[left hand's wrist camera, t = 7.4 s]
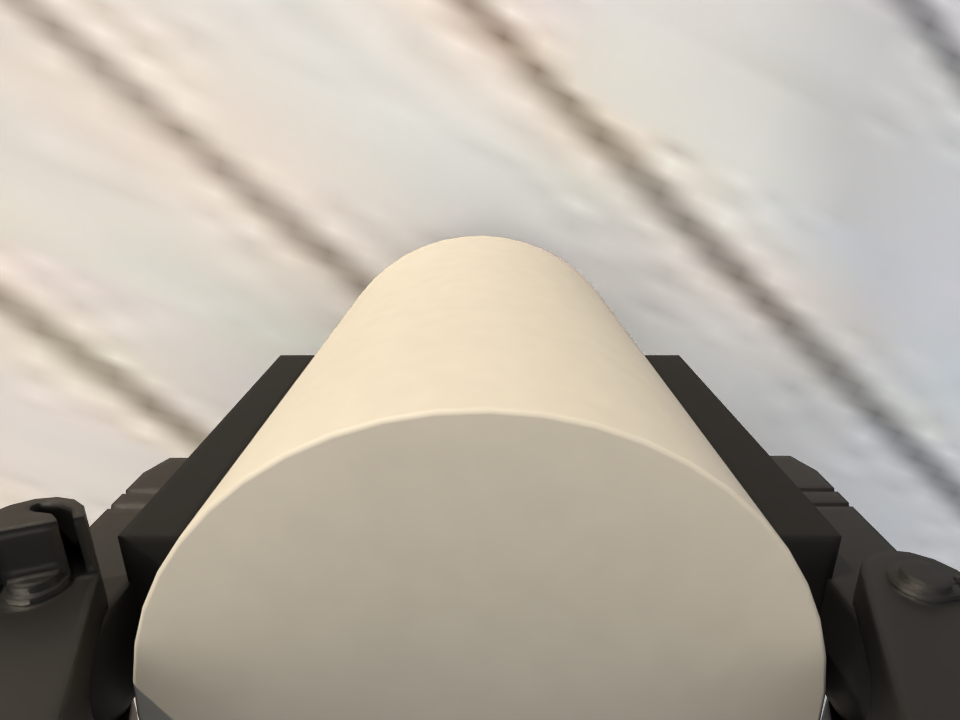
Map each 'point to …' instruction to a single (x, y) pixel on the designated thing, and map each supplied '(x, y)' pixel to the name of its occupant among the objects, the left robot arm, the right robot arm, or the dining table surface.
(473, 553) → the cylinder
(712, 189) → the dining table surface
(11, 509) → the left robot arm
